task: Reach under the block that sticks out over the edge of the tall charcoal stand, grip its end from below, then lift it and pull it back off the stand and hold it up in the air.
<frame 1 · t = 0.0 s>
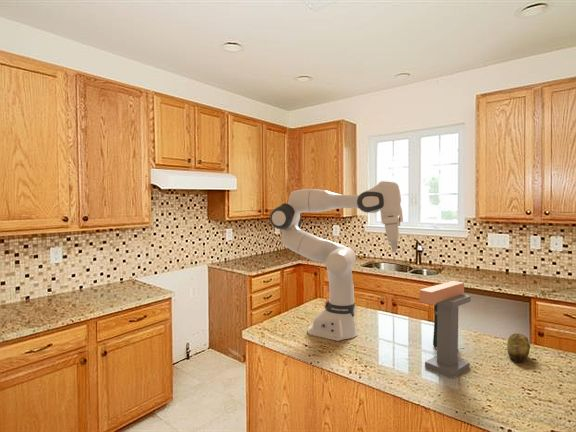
hand: (395, 250, 142), 39 cm above the counter, tool pointing down, fingers open, 8 cm apart
potato: (517, 357, 127), on the counter
stand: (447, 367, 119), on the counter
block: (442, 297, 116), point 26 cm above the counter, touching stand
coffee jar: (445, 347, 137), on the counter
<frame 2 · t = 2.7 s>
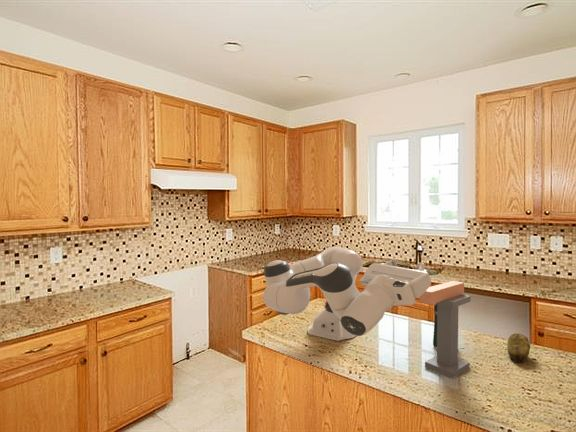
hand: (408, 262, 104), 41 cm above the counter, tool pointing upward, fingers open, 8 cm apart
nothing on the counter moved.
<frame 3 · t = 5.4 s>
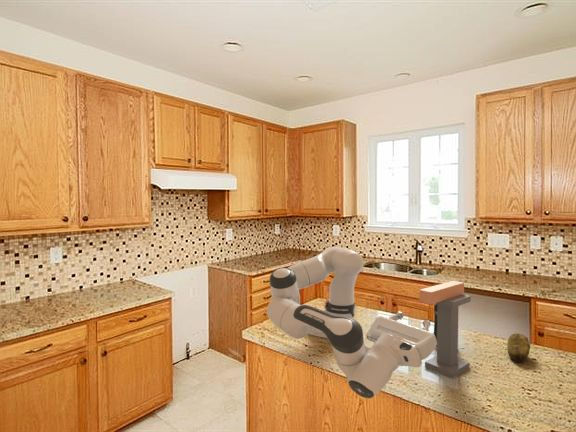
hand: (414, 317, 106), 23 cm above the counter, tool pointing upward, fingers open, 8 cm apart
nothing on the counter moved.
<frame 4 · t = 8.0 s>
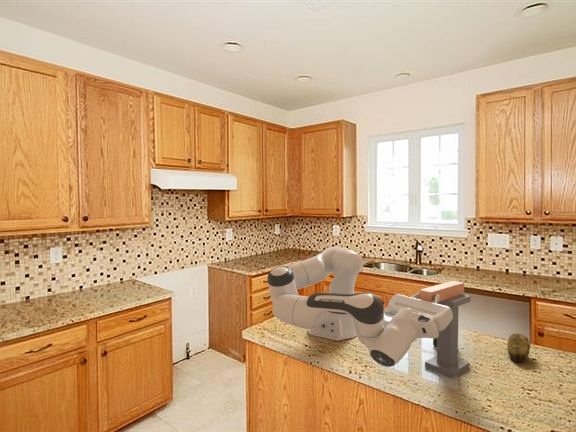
hand: (429, 294, 111), 28 cm above the counter, tool pointing upward, fingers closed on block, 4 cm apart
block: (442, 297, 116), point 26 cm above the counter, touching gripper, stand
everything else where it was.
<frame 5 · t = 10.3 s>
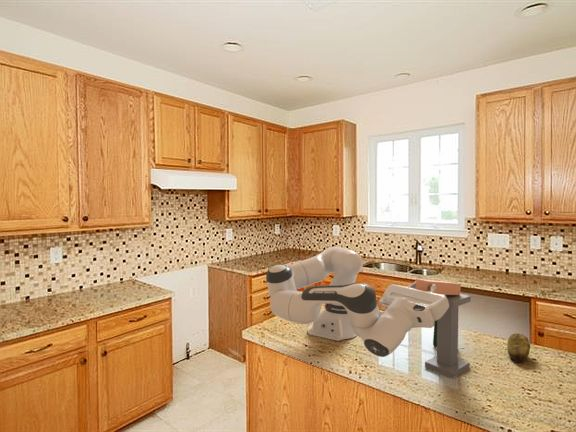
hand: (425, 284, 109), 32 cm above the counter, tool pointing upward, fingers closed on block, 4 cm apart
block: (438, 293, 114), point 28 cm above the counter, tilted 11°, touching gripper
everything else where it was.
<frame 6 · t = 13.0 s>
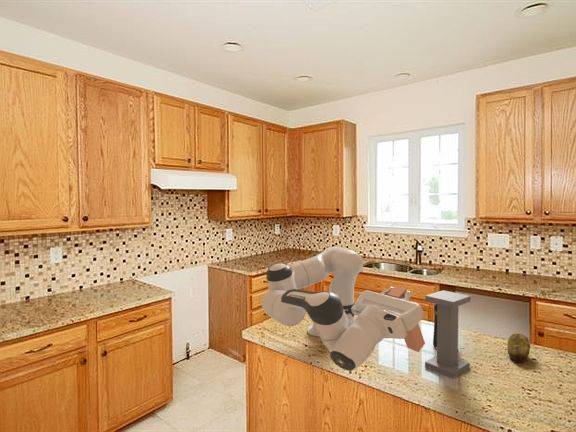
hand: (401, 290, 101), 32 cm above the counter, tool pointing upward, fingers closed on block, 4 cm apart
block: (403, 323, 103), point 22 cm above the counter, tilted 61°, touching gripper
everything else where it was.
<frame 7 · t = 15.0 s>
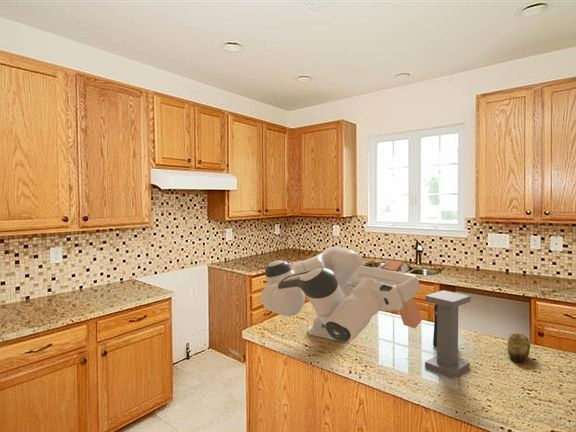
hand: (397, 264, 100), 40 cm above the counter, tool pointing upward, fingers closed on block, 4 cm apart
block: (399, 298, 101), point 30 cm above the counter, tilted 62°, touching gripper
everything else where it was.
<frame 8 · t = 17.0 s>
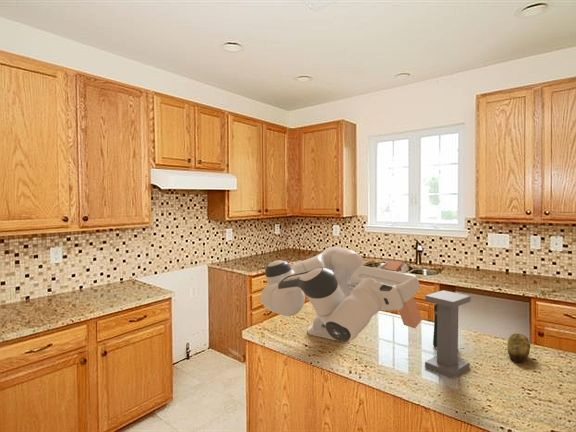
hand: (397, 264, 100), 40 cm above the counter, tool pointing upward, fingers closed on block, 4 cm apart
block: (399, 298, 101), point 30 cm above the counter, tilted 62°, touching gripper
everything else where it was.
at the end: block touching gripper; block moved 25.2 cm from its start; block point 29.8 cm above the counter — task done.
